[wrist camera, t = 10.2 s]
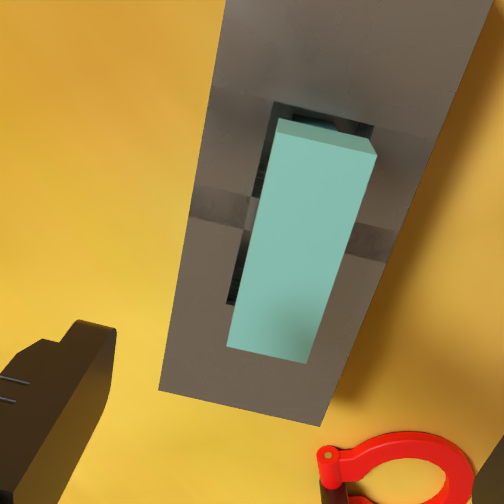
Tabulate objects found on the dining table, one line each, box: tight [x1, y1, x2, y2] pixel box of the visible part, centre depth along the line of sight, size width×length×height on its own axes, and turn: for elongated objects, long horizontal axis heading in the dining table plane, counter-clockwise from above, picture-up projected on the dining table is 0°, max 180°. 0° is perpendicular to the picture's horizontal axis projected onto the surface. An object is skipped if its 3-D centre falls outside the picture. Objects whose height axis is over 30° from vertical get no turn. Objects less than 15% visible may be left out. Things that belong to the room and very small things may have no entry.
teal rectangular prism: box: [226, 114, 377, 364], centre depth 19 cm, size 8×3×6 cm, turn 168°
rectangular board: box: [158, 0, 493, 427], centre depth 20 cm, size 20×8×4 cm, turn 168°
